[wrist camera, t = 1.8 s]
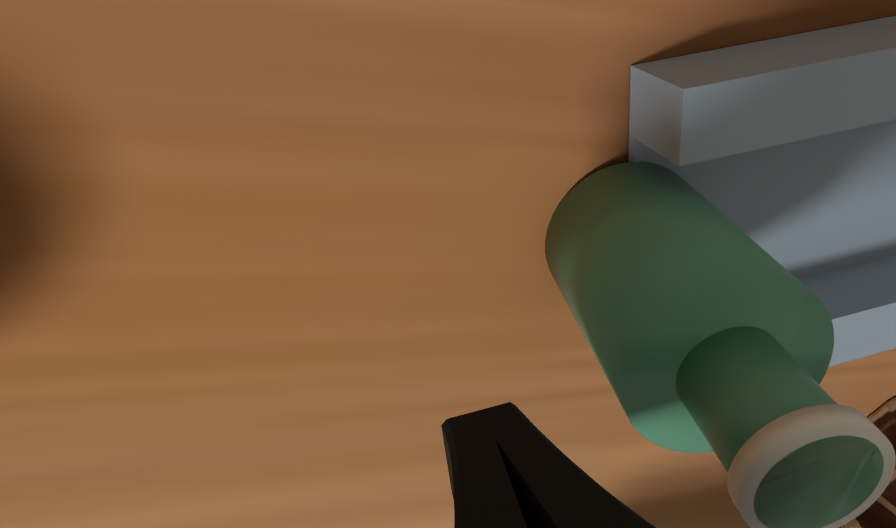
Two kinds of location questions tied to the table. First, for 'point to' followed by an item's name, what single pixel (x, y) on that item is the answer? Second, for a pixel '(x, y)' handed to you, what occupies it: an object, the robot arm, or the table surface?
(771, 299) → the bottle
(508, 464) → the robot arm
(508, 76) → the table surface
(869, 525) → the coffee cup
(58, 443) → the table surface
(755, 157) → the cradle
